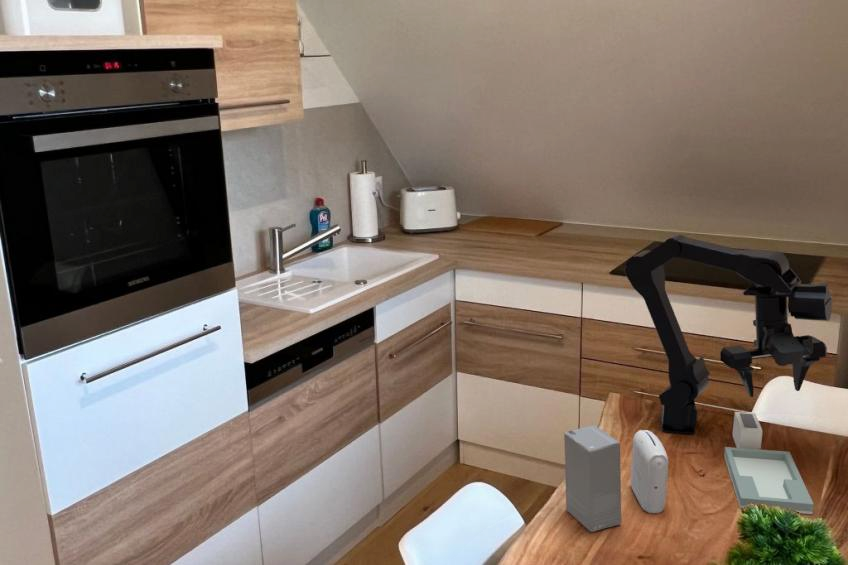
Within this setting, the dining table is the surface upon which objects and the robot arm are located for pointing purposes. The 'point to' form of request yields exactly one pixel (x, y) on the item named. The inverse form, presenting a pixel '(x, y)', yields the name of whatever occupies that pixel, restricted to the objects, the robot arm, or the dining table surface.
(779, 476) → the keyhole tray
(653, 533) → the dining table surface
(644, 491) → the photo printer
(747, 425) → the socket block
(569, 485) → the skincare box
